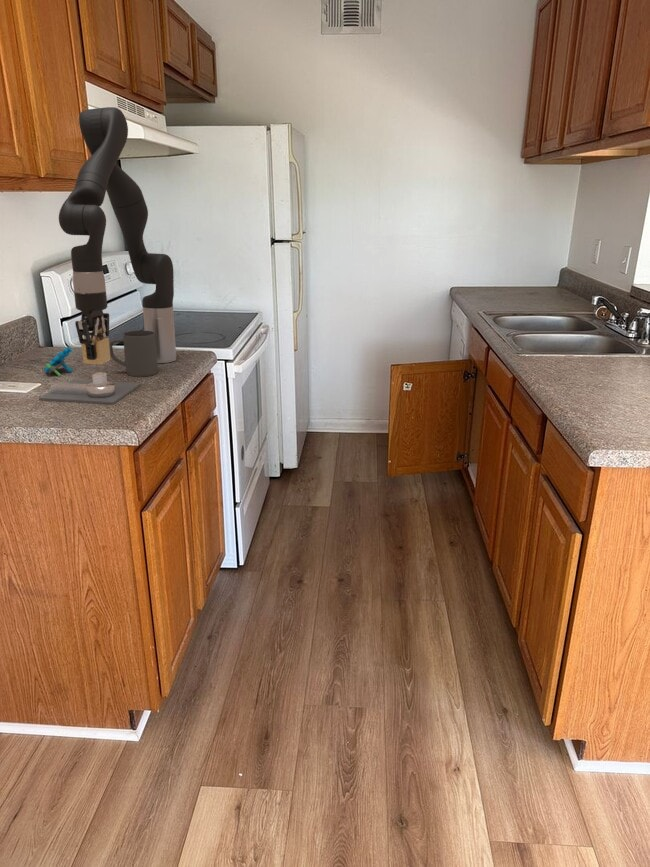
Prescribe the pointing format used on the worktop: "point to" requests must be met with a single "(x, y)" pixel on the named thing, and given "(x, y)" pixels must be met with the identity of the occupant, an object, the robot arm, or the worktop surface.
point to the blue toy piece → (58, 362)
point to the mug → (138, 353)
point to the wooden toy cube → (98, 351)
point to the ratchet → (87, 387)
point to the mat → (120, 392)
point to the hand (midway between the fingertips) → (96, 356)
